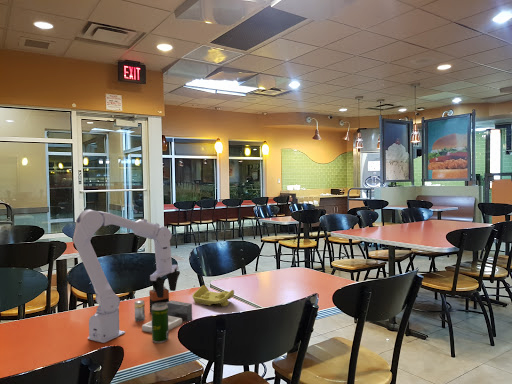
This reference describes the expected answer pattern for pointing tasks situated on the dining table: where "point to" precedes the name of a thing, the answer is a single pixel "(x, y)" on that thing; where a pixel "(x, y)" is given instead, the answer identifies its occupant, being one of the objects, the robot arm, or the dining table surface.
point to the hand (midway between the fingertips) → (166, 293)
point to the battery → (155, 299)
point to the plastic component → (212, 296)
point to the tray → (172, 324)
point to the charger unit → (180, 310)
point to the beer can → (160, 322)
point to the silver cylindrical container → (139, 310)
